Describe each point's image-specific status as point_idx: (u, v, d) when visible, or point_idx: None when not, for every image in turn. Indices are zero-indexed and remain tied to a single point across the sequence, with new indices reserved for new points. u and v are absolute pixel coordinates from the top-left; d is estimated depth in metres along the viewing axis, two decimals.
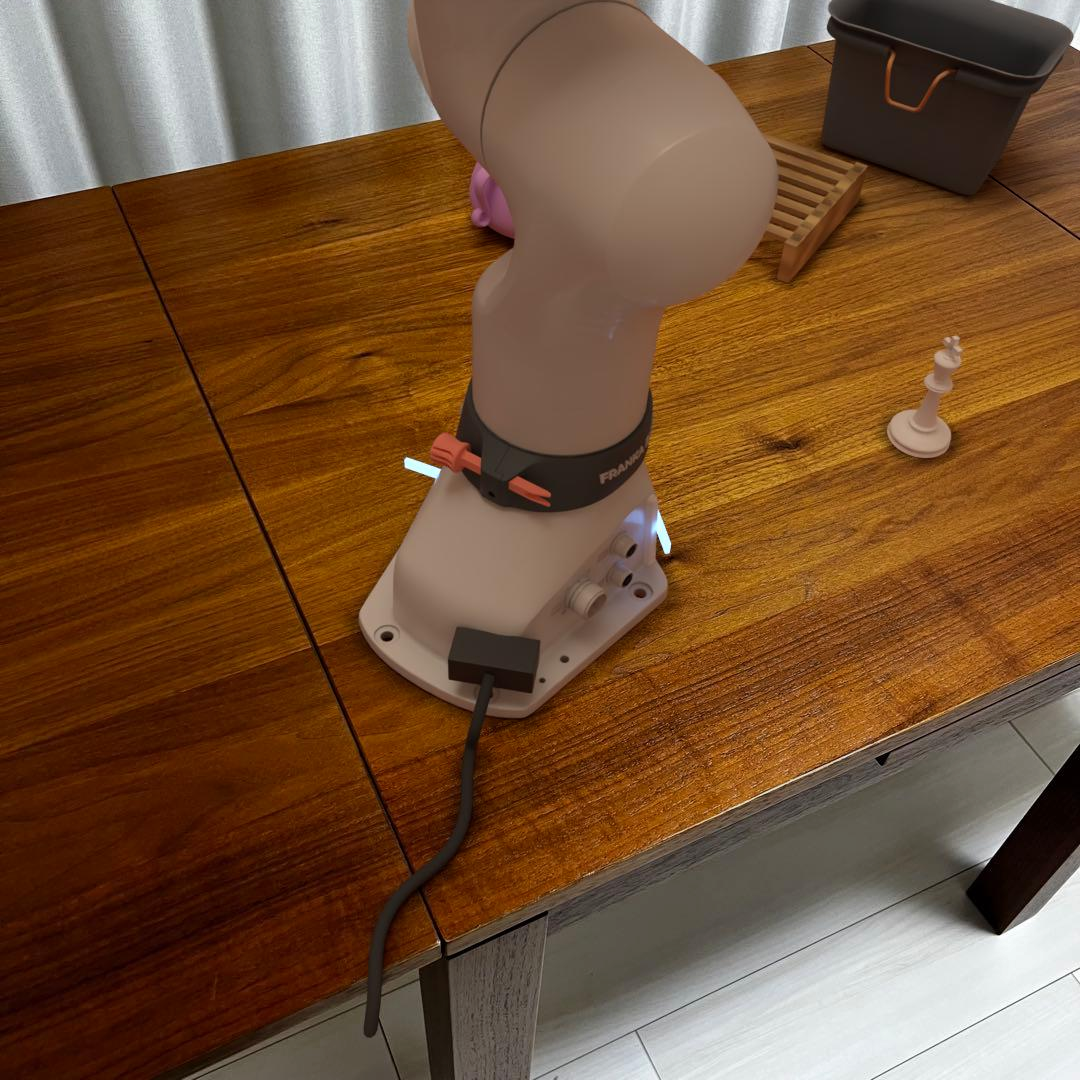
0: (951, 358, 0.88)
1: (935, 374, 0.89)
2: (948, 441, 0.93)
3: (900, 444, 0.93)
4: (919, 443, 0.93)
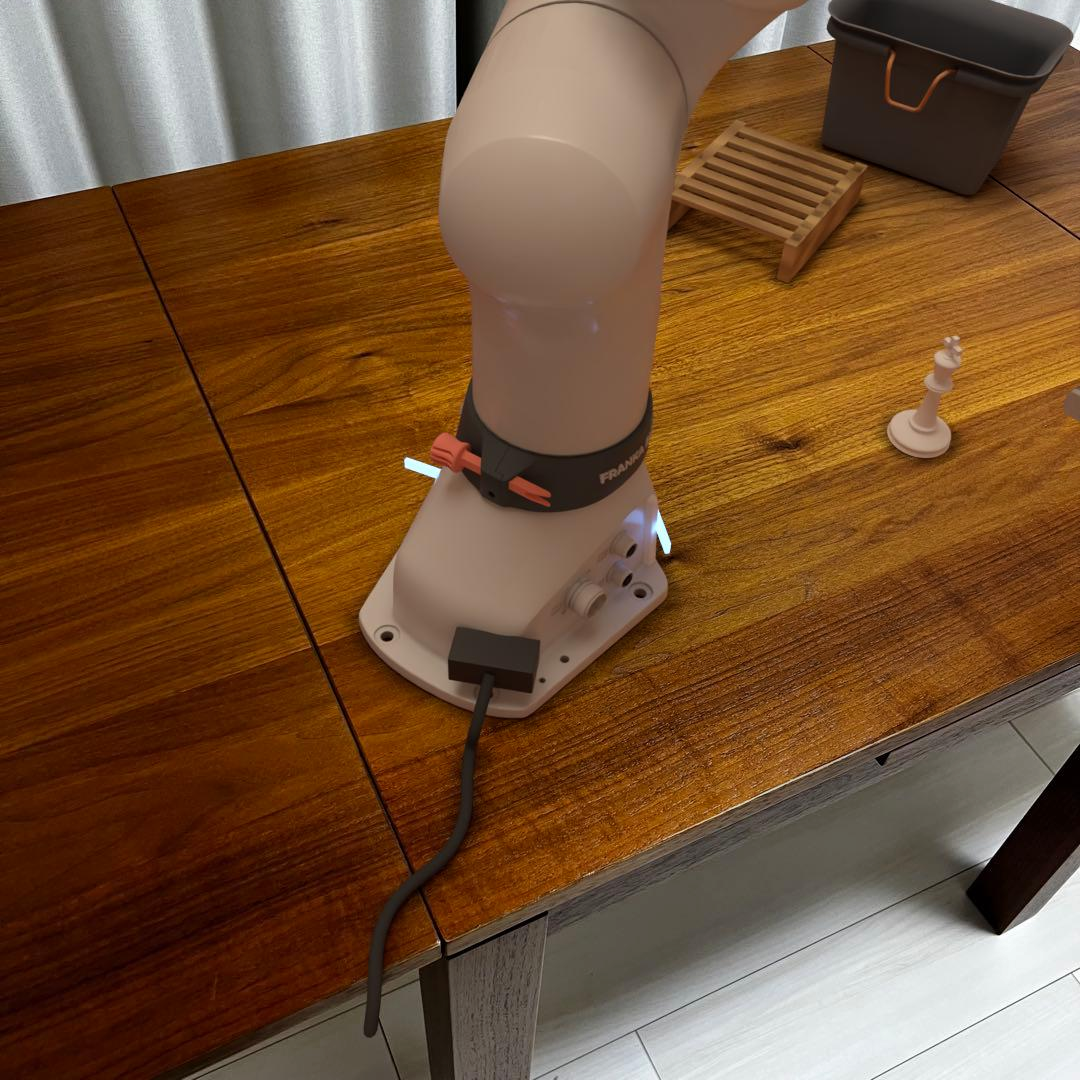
0: (951, 358, 0.88)
1: (935, 374, 0.89)
2: (948, 441, 0.93)
3: (900, 444, 0.93)
4: (919, 443, 0.93)
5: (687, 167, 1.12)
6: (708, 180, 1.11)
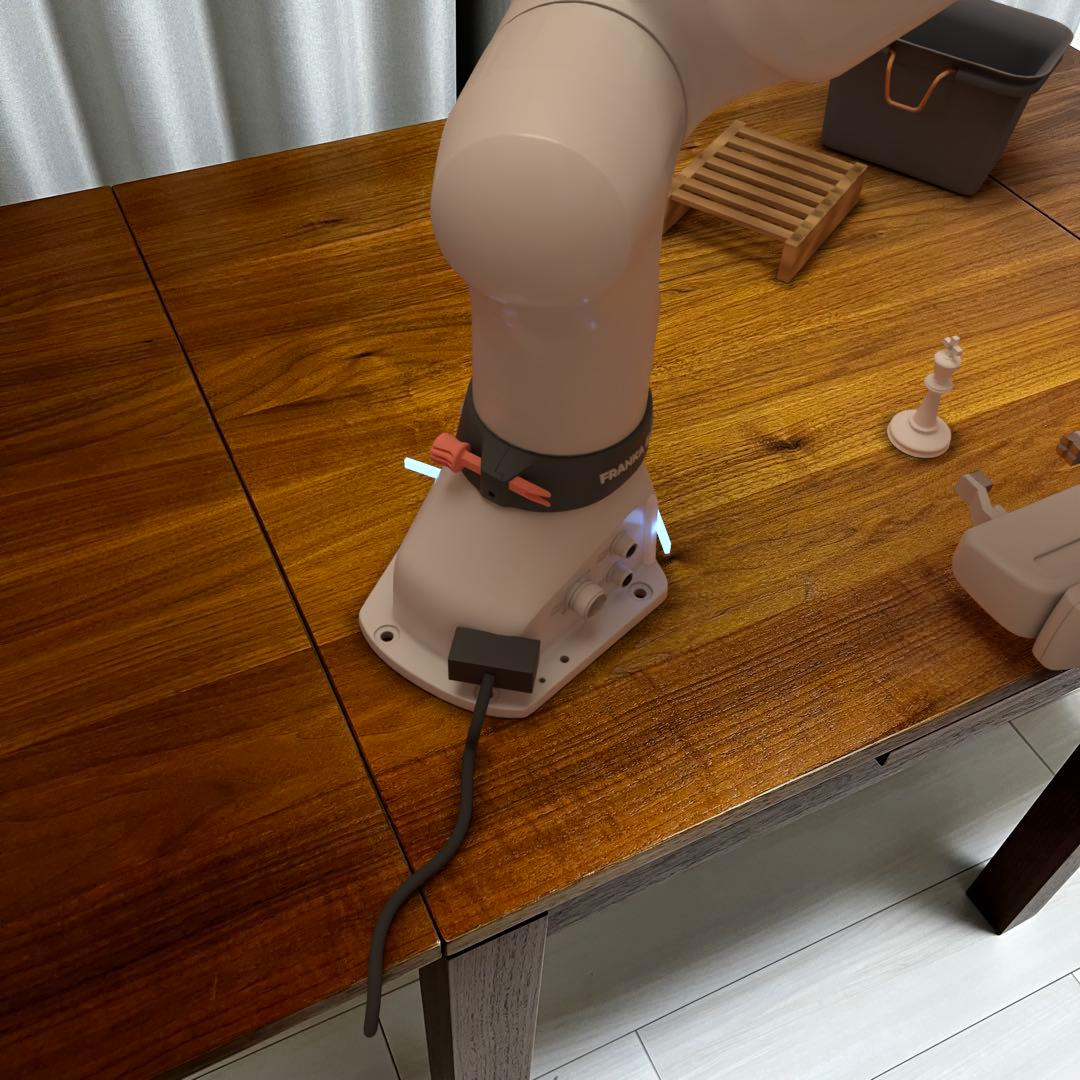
0: (951, 358, 0.88)
1: (935, 374, 0.89)
2: (948, 441, 0.93)
3: (900, 444, 0.93)
4: (919, 443, 0.93)
5: (687, 167, 1.12)
6: (708, 180, 1.11)
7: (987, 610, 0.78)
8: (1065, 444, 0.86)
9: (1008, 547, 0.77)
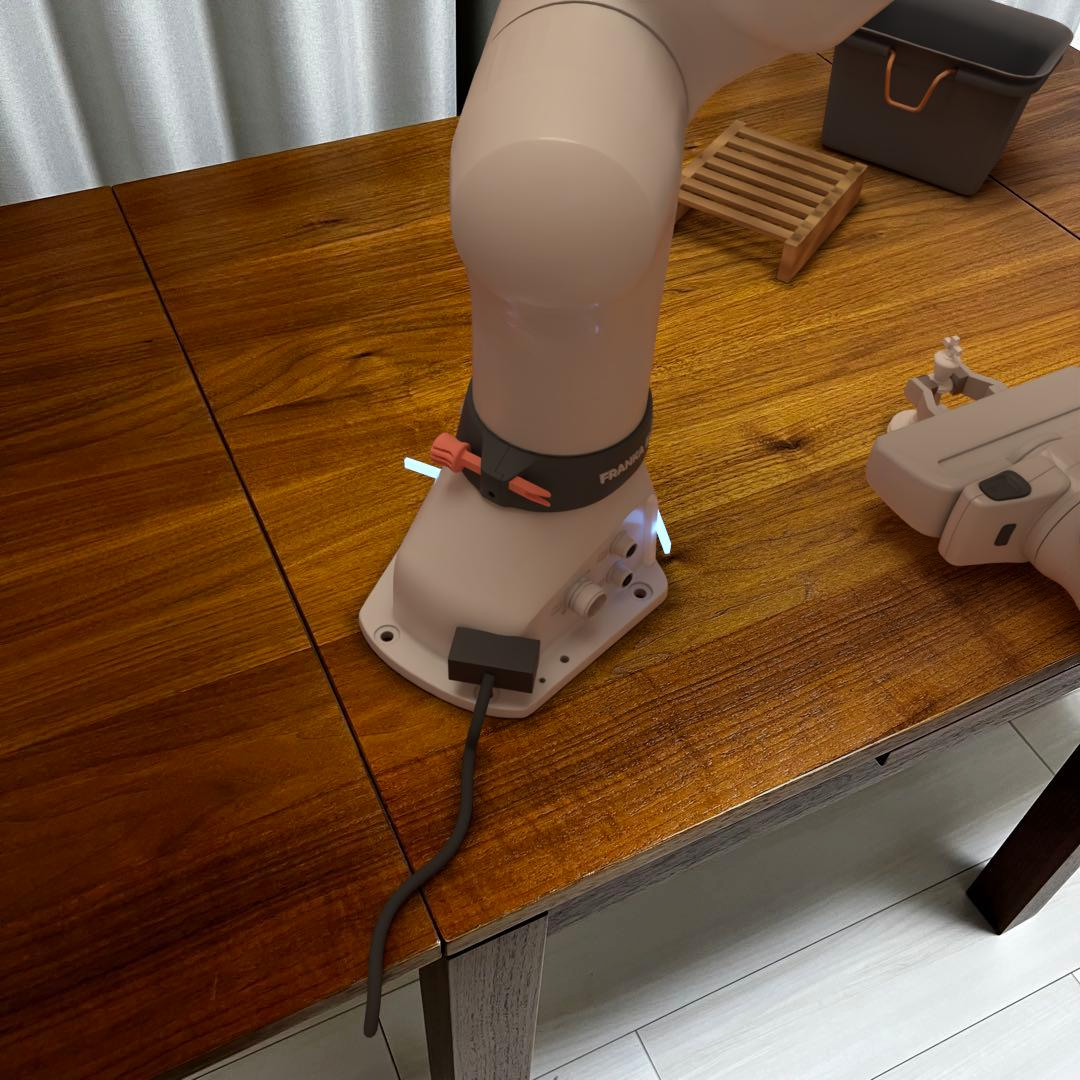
0: (951, 358, 0.88)
1: (935, 374, 0.89)
2: None
3: None
4: None
5: (687, 167, 1.12)
6: (708, 180, 1.11)
7: (896, 512, 0.84)
8: None
9: (915, 452, 0.83)
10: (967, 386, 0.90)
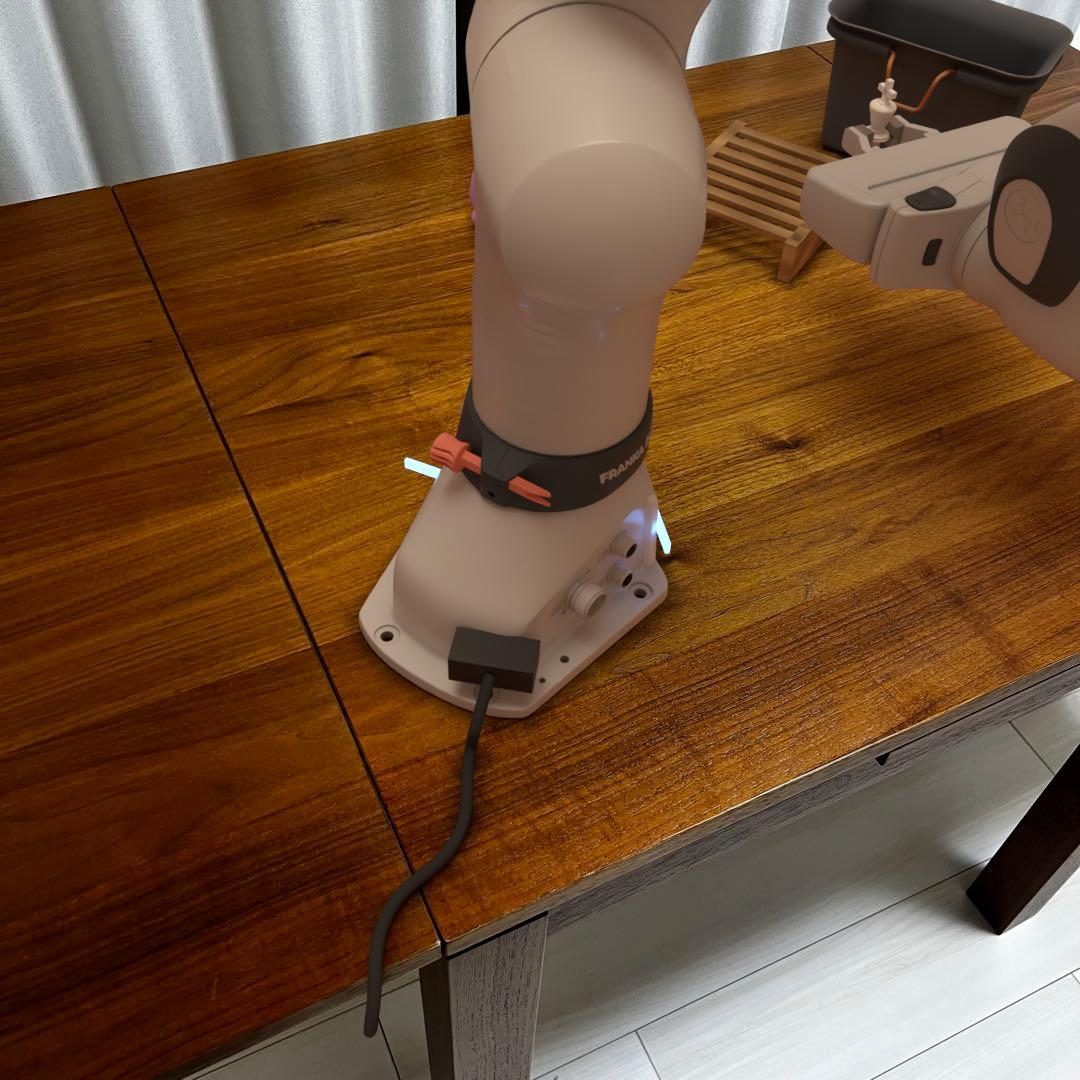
0: (886, 103, 0.90)
1: (871, 123, 0.91)
2: None
3: None
4: None
5: None
6: (708, 180, 1.11)
7: (829, 241, 0.85)
8: None
9: (846, 179, 0.84)
10: (903, 137, 0.92)
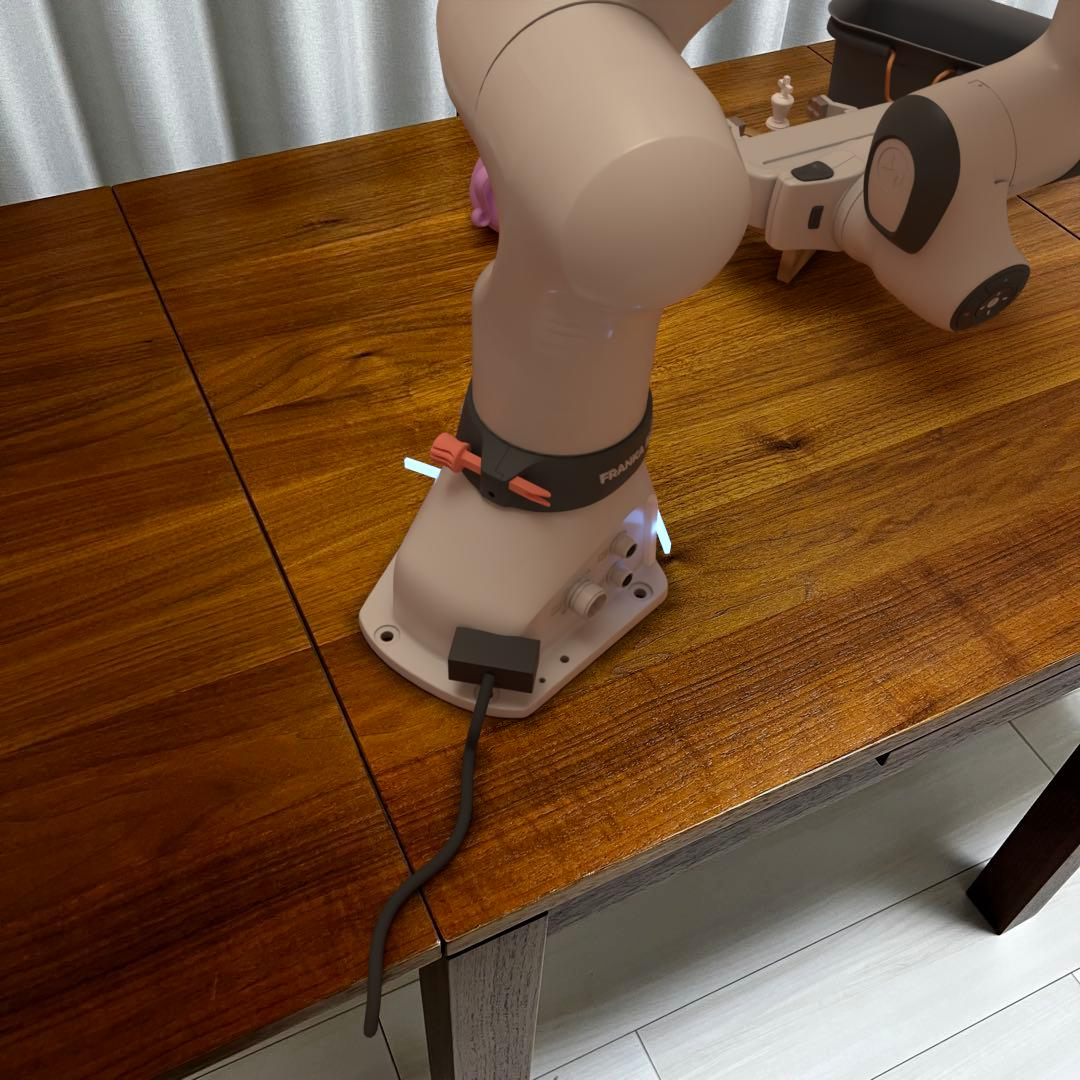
0: (784, 97, 1.04)
1: (773, 114, 1.06)
2: None
3: None
4: None
5: None
6: None
7: None
8: (811, 105, 1.07)
9: (744, 155, 0.99)
10: (828, 114, 1.07)
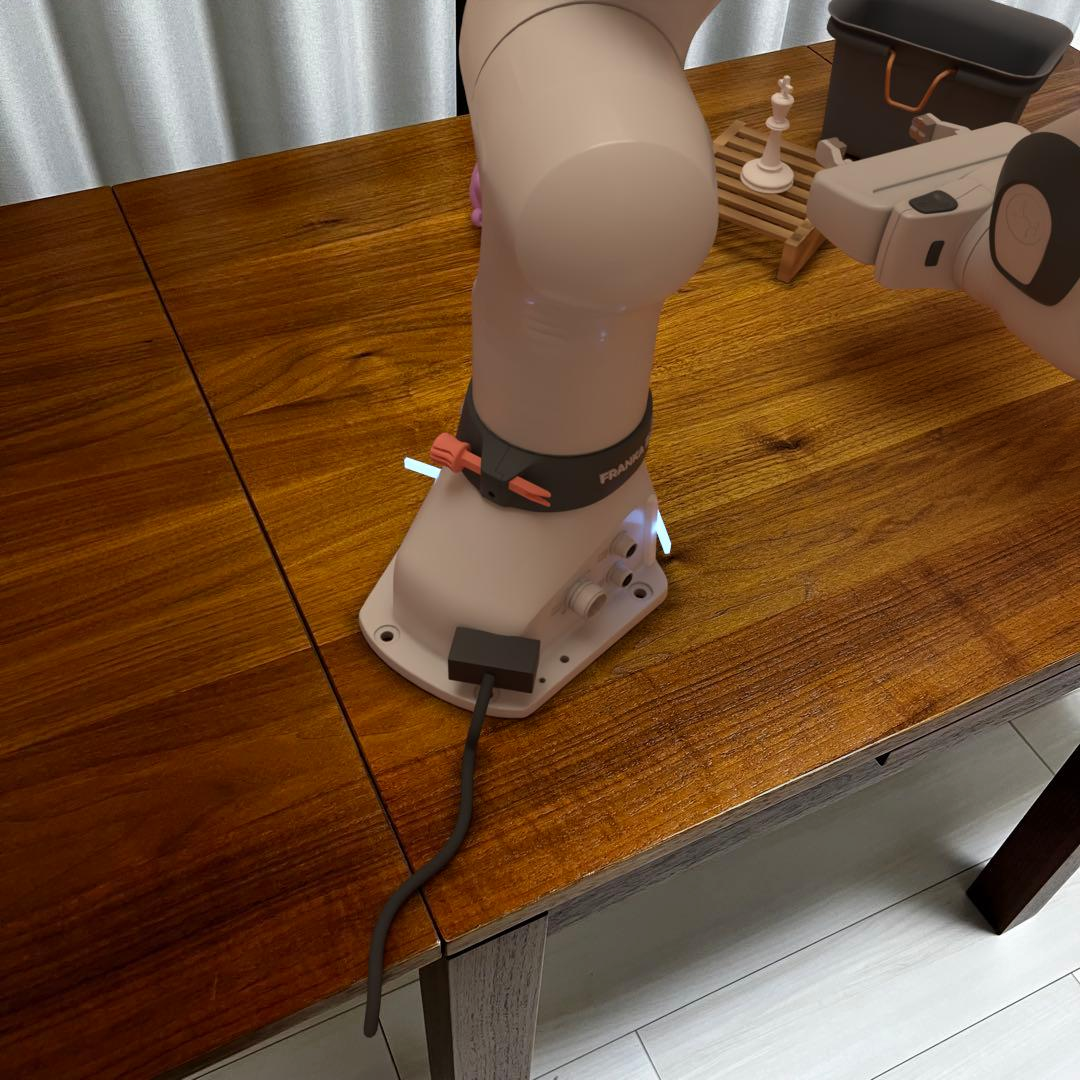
0: (784, 97, 1.04)
1: (773, 114, 1.06)
2: (790, 180, 1.09)
3: (749, 183, 1.09)
4: (764, 180, 1.09)
5: None
6: None
7: (834, 242, 0.89)
8: (916, 124, 0.96)
9: (852, 182, 0.88)
10: (935, 134, 0.96)
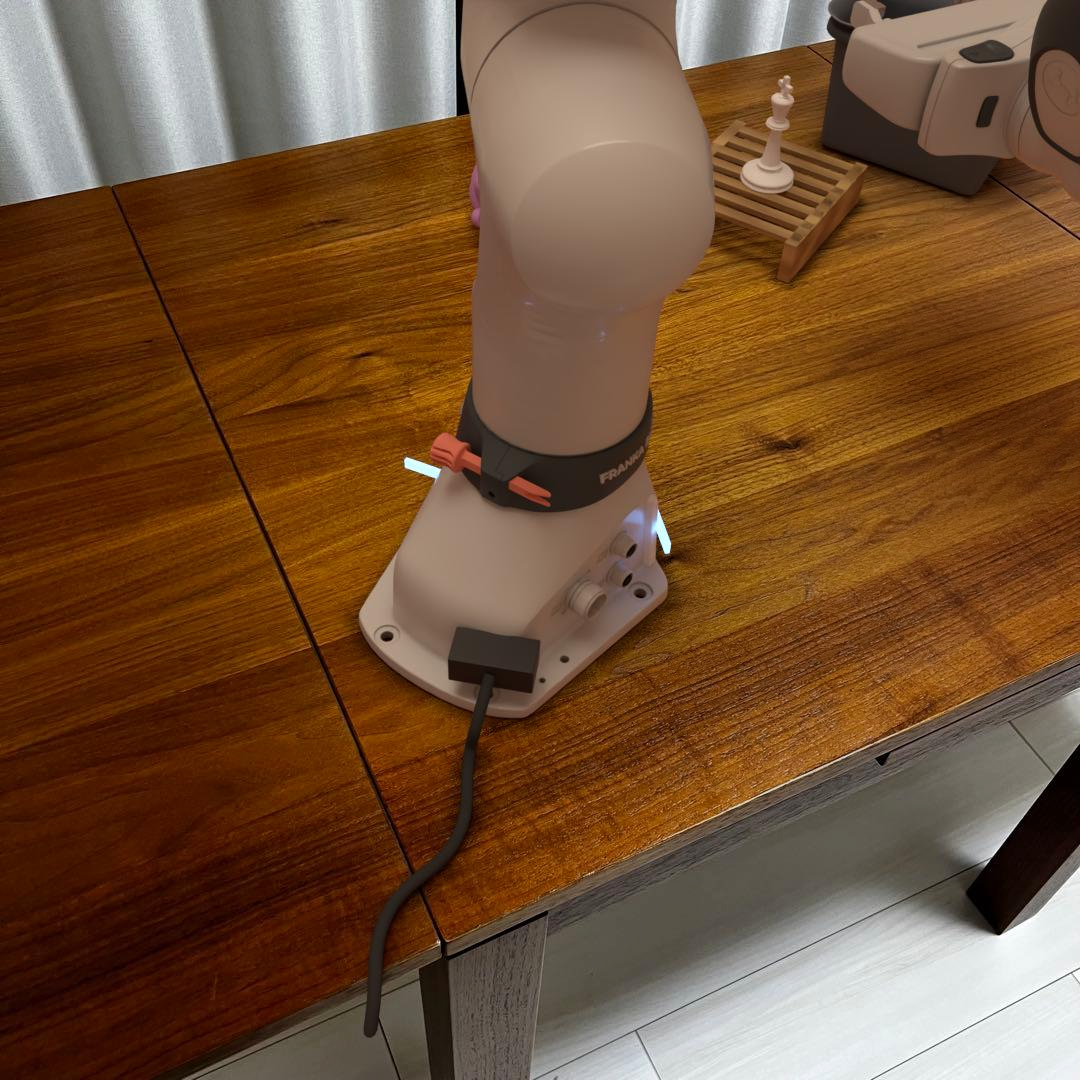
0: (784, 97, 1.04)
1: (773, 114, 1.06)
2: (790, 180, 1.09)
3: (749, 183, 1.09)
4: (764, 180, 1.09)
5: None
6: None
7: (874, 106, 0.80)
8: None
9: (893, 38, 0.79)
10: None
